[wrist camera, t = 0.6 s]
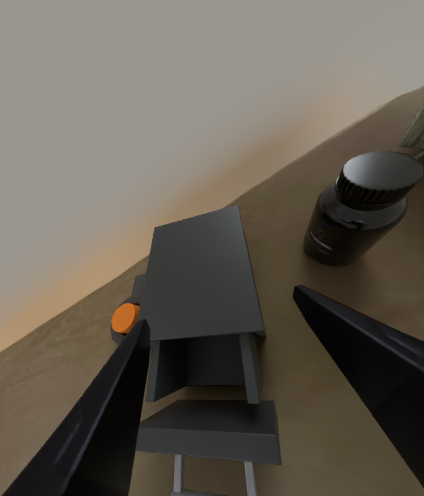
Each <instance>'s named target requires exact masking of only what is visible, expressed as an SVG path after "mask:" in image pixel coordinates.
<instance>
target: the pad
mask: <svg viewBox="0 0 424 496" xmlns="http://www.w3.org/2000/svg"><path fill="white" fill-rule="evenodd" d="M145 277H146V274H143V275H138V276H136V277H135V282H134V286H133V291H132V295H131V296H130V297H129V298H128V299H126V300H125V301H124V302H122V303H121V304H120V306H121V305H123V304H126V303H130V304H134V305H137V306H140V304H141V299H142V294H143V288H144V283H145ZM120 306H119V307H120ZM119 307H118V308H119ZM110 329H111V335H112V339H113V340H114V341H115V342H116V343H117V344H118V345H120V344H121V342H122V341H123V340H124V338H125V337H126V335H127V334H128V333H119V332H116V331H114V330H113V328H112V323H111V327H110ZM150 347H153V343H150Z"/></svg>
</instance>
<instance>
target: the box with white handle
mask: <svg viewBox="0 0 424 496" xmlns="http://www.w3.org/2000/svg"><path fill="white" fill-rule="evenodd" d="M237 385H245V386H246V393H247V400H177V401H176V402H174V403H172V404H171V405H169V406H167V407H166V408H164V409H162V410H161V411H159V412H157V413H155V414H154V415H152V416H150V417H149V418H147V419H145V420H144V421H142V422H140V424H139V430H138V437H137V443H136V450H135V451H143V452H153V453H163V454H174V455H175V468H174V489H173V490H172V492H171V495H170V496H226V495H219V494H212V493H206V492H199V491H192V490H186V489H183V487H184V456H194V457H204V458H214V459H225V460H235V461H244V467H245V477H246V486H247V496H258V495H257V487H256V479H255V471H254V464H253V462H255V463H265V464H276V465H281V454H280V443H279V433H278V422H277V414H276V409H275V404H274V401H262V400H260V397H261V392H262V387H263V379H262V374H261V368H260V363H259V357H258V351H257V346H256V340H255V334H254V332H252V333H240V334H229V335H217V336H206V337H194V338H183V339H171V340H160V341H153V347H152V355H151V363H150V371H149V379H148V387H147V395H146V402H155V401H157V400H159V399H161V398H163V397H165V396H167V395H169V394H171V393H173V392H175V391H177V390H179V389H181V388H183V387H185V386H237Z"/></svg>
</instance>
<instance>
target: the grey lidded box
mask: <svg viewBox="0 0 424 496" xmlns="http://www.w3.org/2000/svg"><path fill="white" fill-rule="evenodd" d="M142 319H146V320H147V322H148V324H149V327H150V330H151V334H150V343H153V341H160V340H171V339H183V338H194V337H206V336H217V335H229V334H240V333H252V332H254V334H255V337H264V336H266V331H265V326H264V322H263V317H262V312H261V308H260V303H259V298H258V294H257V289H256V284H255V280H254V275H253V270H252V266H251V261H250V256H249V252H248V247H247V242H246V238H245V234H244V229H243V225H242V221H241V216H240V212H239V208H238V205H235V206H231V207H228V208H224V209H220V210H217V211H213V212H210V213H206V214H202V215H198V216H195V217H191V218H188V219H184V220H181V221H177V222H173V223H169V224H166V225H162V226H158V227H155V229H154V234H153V239H152V245H151V250H150V256H149V261H148V267H147V272H146V277H145V283H144V288H143V294H142V299H141V304H140V310H139V315H138V320H142Z"/></svg>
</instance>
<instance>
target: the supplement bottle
mask: <svg viewBox="0 0 424 496" xmlns="http://www.w3.org/2000/svg"><path fill="white" fill-rule="evenodd" d="M422 167H423V166H422V165H421V164H420V162H419V161H417V160H416V158H413V157H411V156H410V155H406V154H404V153H399V152H392V151H373V152H367V153H365V154H360V155H358V156H355V157H354V158H352V159H350V160H349V161H348V162H346V164H345V165H344V166H343V168H342V171H341V173H340V175H339V177H338V178H337V180H336V182H334V183H332V184H331V185H329V186H328V187H326V188H325V189H324V190H323V191H322V192H321V194H320V196H319V198H318V200H317V202H316V205H315V208H314V211H313V214H312V217H311V220H310V222H309V225H308V228H307V231H306V234H305V237H304V247H305V249H306V251H307V253H308V254H309V255H310V256H311V257H312V258H313V259H315V260H316V261H318V262H320V263H322V264H325V265H329V266H345V265H349V264H351V263H354V262H355V261H357V260H358V259H359V258H360V257H362V256H363V255H364V254H365V253H366V252H367V251H368V250H369V249H370V248H372V247H373V246H374V245H375V244H376V243H377V242H378V241H379V240H380V239H382V238H383V237H384V236H385V235H386V234H387V233H388V232H389V231H390V230H391V229H393V228H394V227H395V226H396V225H397V224H398V223H399V222H400V221H401V220H402V219H403V217H404V216H405V214H406V212H407V208H408V201H407V197H406V196H407V195H408V194H409V192H410V191H411V189H412V188H413V187H414V186H415V185H416V184H417V183H418V182H419V181H420V179H421V177H422V176H423V171H424V169H423V168H422Z"/></svg>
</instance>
